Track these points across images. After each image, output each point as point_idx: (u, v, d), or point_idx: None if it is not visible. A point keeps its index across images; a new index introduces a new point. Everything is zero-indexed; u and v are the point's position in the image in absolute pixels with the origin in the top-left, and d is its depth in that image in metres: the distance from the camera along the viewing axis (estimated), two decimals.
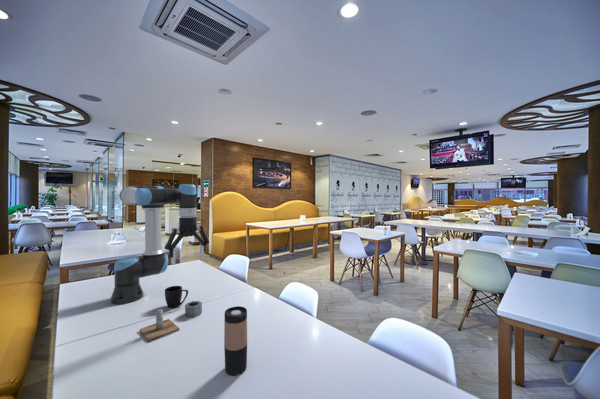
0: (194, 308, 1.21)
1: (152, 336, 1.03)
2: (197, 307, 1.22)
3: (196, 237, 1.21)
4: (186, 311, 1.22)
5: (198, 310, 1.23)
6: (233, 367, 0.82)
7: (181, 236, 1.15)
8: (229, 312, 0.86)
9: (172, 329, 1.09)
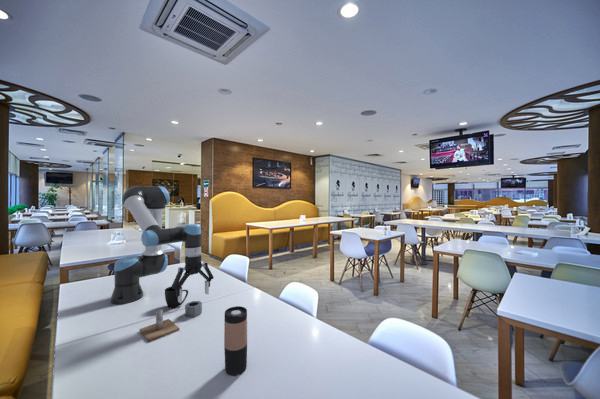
0: (194, 308, 1.21)
1: (152, 336, 1.03)
2: (197, 307, 1.22)
3: (201, 274, 1.26)
4: (186, 311, 1.22)
5: (198, 310, 1.23)
6: (233, 367, 0.82)
7: (187, 275, 1.20)
8: (229, 312, 0.86)
9: (172, 329, 1.09)
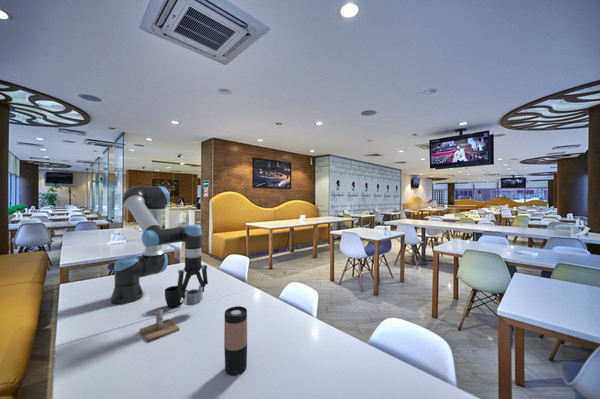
0: (193, 296, 1.21)
1: (152, 336, 1.03)
2: (196, 295, 1.23)
3: (198, 276, 1.26)
4: None
5: (197, 298, 1.23)
6: (233, 367, 0.82)
7: (188, 277, 1.21)
8: (229, 312, 0.86)
9: (172, 329, 1.09)
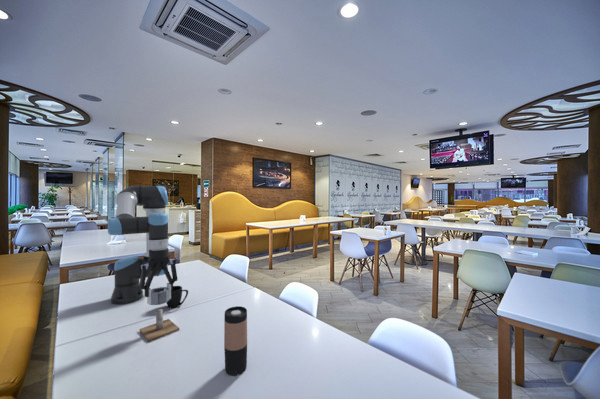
0: (159, 294, 1.06)
1: (152, 336, 1.03)
2: (163, 293, 1.07)
3: (165, 272, 1.10)
4: None
5: (164, 297, 1.07)
6: (233, 367, 0.82)
7: (153, 272, 1.05)
8: (229, 312, 0.86)
9: (172, 329, 1.09)
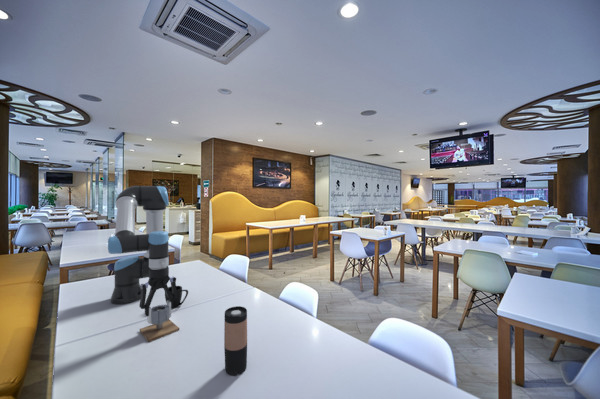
0: (159, 313, 1.06)
1: (152, 336, 1.03)
2: (163, 312, 1.07)
3: (165, 290, 1.10)
4: None
5: (164, 315, 1.07)
6: (233, 367, 0.82)
7: (153, 291, 1.06)
8: (229, 312, 0.86)
9: (172, 329, 1.09)
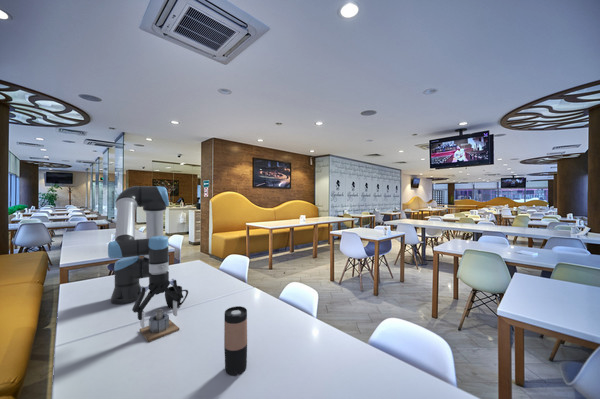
0: (158, 322, 1.06)
1: (152, 336, 1.03)
2: (162, 321, 1.07)
3: (168, 293, 1.11)
4: (150, 326, 1.06)
5: (163, 325, 1.07)
6: (233, 367, 0.82)
7: (151, 295, 1.05)
8: (229, 312, 0.86)
9: (172, 329, 1.09)
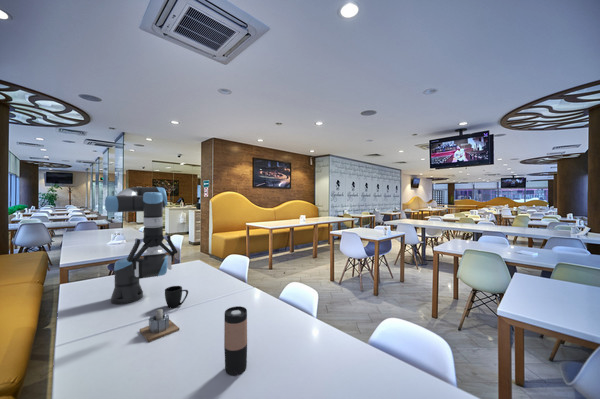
0: (158, 322, 1.06)
1: (152, 336, 1.03)
2: (162, 321, 1.07)
3: (163, 247, 1.16)
4: (150, 326, 1.06)
5: (163, 325, 1.07)
6: (233, 367, 0.82)
7: (145, 247, 1.09)
8: (229, 312, 0.86)
9: (172, 329, 1.09)
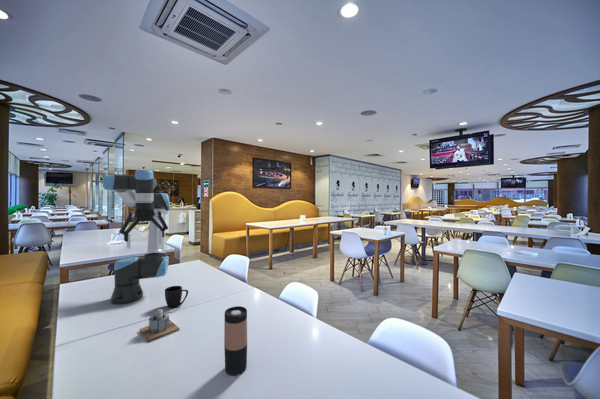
0: (158, 322, 1.06)
1: (152, 336, 1.03)
2: (162, 321, 1.07)
3: (154, 222, 1.23)
4: (150, 326, 1.06)
5: (163, 325, 1.07)
6: (233, 367, 0.82)
7: (137, 221, 1.16)
8: (229, 312, 0.86)
9: (172, 329, 1.09)
